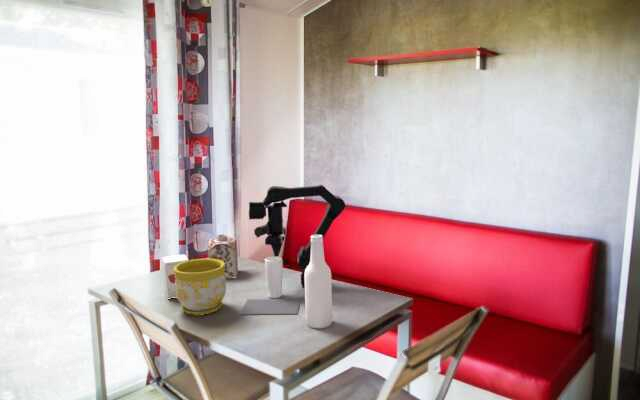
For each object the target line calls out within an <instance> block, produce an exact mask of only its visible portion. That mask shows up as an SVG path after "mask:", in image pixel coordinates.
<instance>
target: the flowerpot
mask: <svg viewBox="0 0 640 400" xmlns="http://www.w3.org/2000/svg"><path fill="white" fill-rule="evenodd" d="M224 268H225V263H224V262H223V261H221V260H217V259H209V258H198V259H196V258H195V259H190V260H189V259H188V261H185V262H182V263H180V264H178V265H176V266H175V267H174V272H175V273H176V274H175V278H176V281H175V290H176V296H177V298H176V299H177V300H178V302H179V303H180V305H181V310H182V311H183V312H185V313H186V314H187V313H189V314H195V315H194V316H202V315H201V314H207V315H210V314H209V313H211V314H213V313H212V312H214V313H215V311H216V312H218V311H219V310H220V308H221V307H222V306H223V302H222V301H223V300H224V298H225V295H226V291H227V281H226V280H227V279H225V275H224V272H225V270H224ZM218 309H219V310H218ZM189 314H188V315H189Z"/></svg>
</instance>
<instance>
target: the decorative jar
mask: <svg viewBox="0 0 640 400" xmlns="http://www.w3.org/2000/svg"><path fill="white" fill-rule="evenodd" d="M237 248H238V247H237V240H236V239H235V238H233V237H230V236H228V235H227V234H223V233H222V234H217V235H216V237H215V238H211V239H209V241H208V246H207V252H208V254H207V255H208V257H207V259H217V260H221V261H223V262H224V263H225V268H224V270H225V272H224V275H225V278H229V277H237V278H238V272H239V265H238V250H237ZM229 279H230V278H229Z"/></svg>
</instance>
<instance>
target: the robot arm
mask: <svg viewBox="0 0 640 400" xmlns="http://www.w3.org/2000/svg"><path fill="white" fill-rule="evenodd" d="M308 197H321V198H322V199H323V200H324V201H325V202H327V205H326V209H325V214H324V215H323V217H322V219H321V220H320V223H319V224H318V227H316V230H315V232H314V234H313V235H322V236H323V239H324V238H325V236H326V235H327V233H328V231H329V230H330V227H331V226H332V225H333V223H334V221H335V220H336V219H337V218H338V217H339V216H340V215H341V214H342V212H343V211H344V210H345V207H346V203H345V201H344V200H343V199H342V197H340V196H338V195H334V194H333V193H332V192H330V191H329V189H327V188H326V186H324V185H323V184H318V185H312V186H311V185H310V186H297V187H286V186H280V185H279V186H278V185H277V186H275V185H272V186H270V187H269V188H268V189H267V193H266V196H265V197H264V199H263V201H259V202H257V201H255V202H253V201H249V203H248V204H249V205H248V206H249V207H248V208H249V209H248V220H264V218H265V217H267V222H266V224H263V225H260V226H258V227H257V226H256V228H254V230H253V232H254V233H253V235H255V237H256V239H257V238H260V237H262V236H264V235H267V236H266V238H264V242H265V245H268V246H269V245H270V246H271V248H272V252H273V254H274V255H273V256H277V257H279V255H280V252H281V250H282V247H283V243H284V241H285V238H286V237H285V236H282V235H286V234H287V229H286V228H285V227H284V219H283V216H284V215H283V208H287V207H288V205H287V203H285V202H284V201H285V200H286V201H287V200H289V199H294V198H295V199H296V198H308ZM296 255H297V258H296V259H297V264H298V266H299V268H300V269H302V272H301V273H300V285H301V287H302V288H303V289H305V280H304V273H305V269H306V267H307V266H308V265H309V263H310V256H311V239H310V240H309V242H308V244H307V245H305V247H304V246H303V245H301V247H300V249H299V251H298V253H297V254H296Z"/></svg>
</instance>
